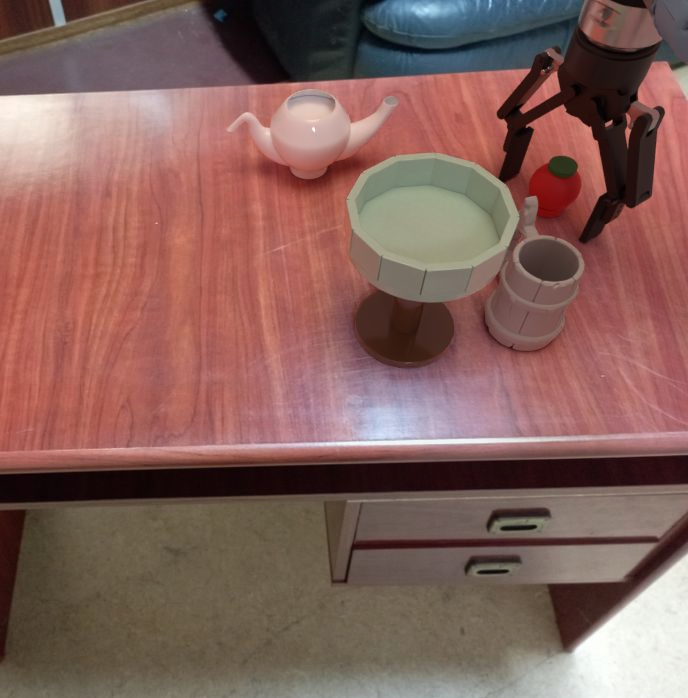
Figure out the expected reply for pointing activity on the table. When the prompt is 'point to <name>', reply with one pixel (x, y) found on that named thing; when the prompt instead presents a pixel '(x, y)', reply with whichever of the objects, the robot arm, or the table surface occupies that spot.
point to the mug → (533, 286)
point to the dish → (423, 249)
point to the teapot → (313, 131)
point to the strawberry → (555, 185)
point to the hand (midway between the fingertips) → (547, 205)
